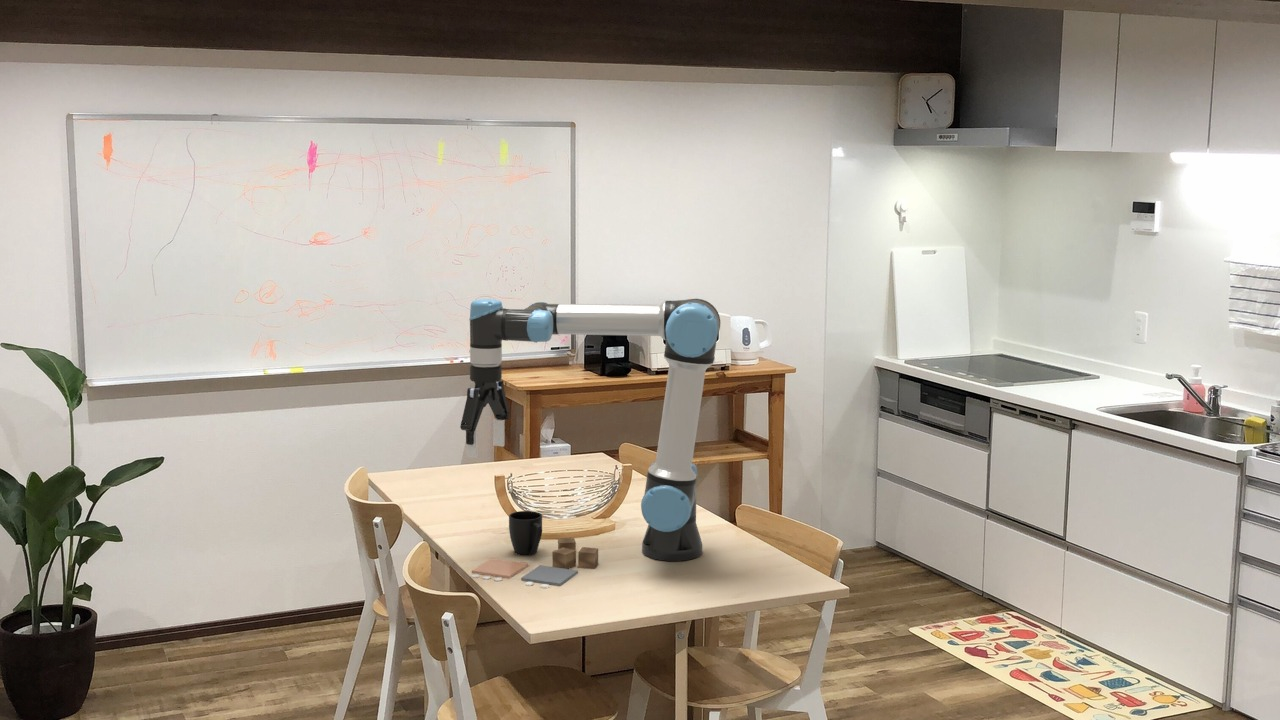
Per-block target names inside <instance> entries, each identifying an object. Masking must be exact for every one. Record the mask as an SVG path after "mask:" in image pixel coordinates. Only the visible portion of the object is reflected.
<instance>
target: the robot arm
mask: <svg viewBox="0 0 1280 720" xmlns="http://www.w3.org/2000/svg"><path fill="white" fill-rule="evenodd" d="M469 309H470V310H469V311H470V312H469V314H470V315H469V319H468V321H469V363H470V364H471V365H470V366H469V380H470V381H471V382H473V383H474V388H473V387H468V388H467V391H466V392H467V393H466V401H465V404H464V405H465V406H464V408H463V409H464V410H463V413H462V417H461V421H460V422H461V423H460V425H459V426H460V427H459V428H460V430H462V431H465V458H471V459H478V456H479V455H478V454H479V451H478V450H479V447H478V445H479V443H478V441H479V440H478V437H479V435H478V434H479V433H478V432H479V431H478V430H477V427H478V424H479V422H480V418H481V415H482V412H483V410H484V408H485V407H487V405H489V408H490V409H491V412H492V413H493V415H494V417H495V418H493V421H492V423H493V424H492V425H493V426H492V427H493V429H492V431H493V434H492V435H493V437H492V442H493V443H492V444H493V445H492V446H495V447H505V428H506V427H505V424H506V423H505V422H506V420H507V421H508V420H509V419H510V413H511V412H510V407H509V403H508V400H507V396H506V392H505V389H504V387H505V386H504V384H505V383H504V380H502V377H503V376H502V370H503V369H502V365H501V364H502V362H503V360H502V359H503V352H502V349H503V348H502V347H503V344H502V342H503V341H505V342H506V341H513V342H531V343H541V342H543V343H546V342H549V341H550V340H551V339H552V337H553V335H583V336H584V335H589V336H591V335H592V336H596V335H597V336H644V337H645V336H646V337H647V336H648V337H649V336H651V337H653V336H654V337H655V336H657V337H661V338H662V339H663V340H664V341H665V345H664V346H665V347H664V353H663V358H664V359H665V360H666V362H667V364H668V370H667V371H668V372H667V377H666V378H667V380H666V385H665V394H664V399H663V408H662V414H661V415H662V416H661V421H660V427H659V428H660V429H659V436H658V443H657V450H656V457H655V462H652V463H651V464H650V466H649V467H648V469H647V475H646V480H645V481H646V482H645V487H644V494H643V496H642V499H641V502H640V507H641V509H640V510H641V514H642V516H643V519H644V520H645V522H646V524H648V525H647V528H646V530H645V534H644V537H643V540H642V542H641V553H642V554H643V555H644V556H646V557H647V558H650V559H654V560H657V561H667V562H668V561H669V562H681V561H684V562H685V561H689V560H694V559H697V558H700V556H702V555H703V541H702V538H701V535H700V532H699V528H698V524H697V492H698V491H697V490H698V488H697V487H698V485H697V482H698V476H699V473H698V468H697V465H696V464H695V463H693V459H694V453H695V452H694V451H695V445H696V439H697V431H698V424H699V419H700V412H701V404H702V398H703V392H704V384H705V376H706V370H707V369H709V367H711V366H712V365H714V360H715V355H716V347H717V340H718V335H719V332H720V330H721V317H720V314H719V311H718V310H717V309H716V307H715V306H714V305H713V304H712V303H710V302H709V301H708V300H705V299H702V298H687V299H679V300H664V301H663V302H662V303H661V304H624V303H623V304H617V303H616V304H612V303H611V304H610V303H608V304H607V303H603V304H602V303H601V304H600V303H599V304H598V303H595V304H594V303H548V302H541V301H540V302H534V303H532V304H530V305H529V306H528V307H526V308H524V309H522V308H521V309H520V308H519V309H516V308H515V309H514V308H513V309H512V308H506V307H505V308H504V307H503V303H502V301H501V300H499V299H495V298H494V299H492V298H479V299H478V298H477V299H475V300H472V302H471V303H470V308H469Z"/></svg>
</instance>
